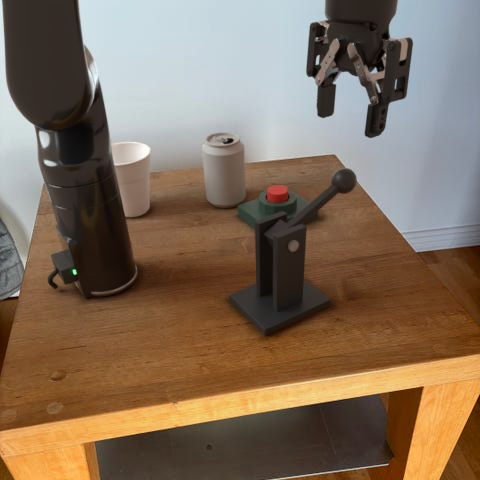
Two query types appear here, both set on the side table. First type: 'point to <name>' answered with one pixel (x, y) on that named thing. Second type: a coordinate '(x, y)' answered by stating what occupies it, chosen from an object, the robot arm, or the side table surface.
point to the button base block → (272, 208)
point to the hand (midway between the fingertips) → (348, 125)
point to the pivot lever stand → (279, 280)
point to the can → (224, 169)
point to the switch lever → (317, 201)
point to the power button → (277, 194)
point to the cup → (133, 176)
